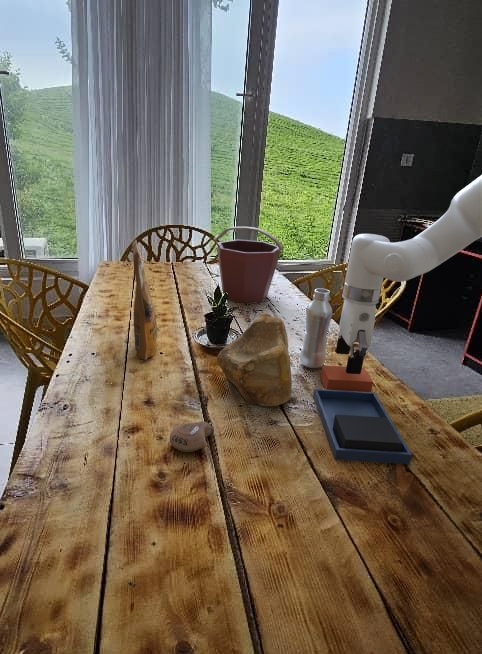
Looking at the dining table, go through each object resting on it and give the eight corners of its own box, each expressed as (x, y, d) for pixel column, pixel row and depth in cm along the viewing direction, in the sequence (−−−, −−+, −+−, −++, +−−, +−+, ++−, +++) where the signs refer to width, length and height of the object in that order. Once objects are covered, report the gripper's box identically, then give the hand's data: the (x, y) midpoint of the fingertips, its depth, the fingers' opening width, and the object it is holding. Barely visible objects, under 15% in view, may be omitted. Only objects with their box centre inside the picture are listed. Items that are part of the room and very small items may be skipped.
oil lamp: (219, 459, 80) (210, 432, 87) (223, 440, 78) (214, 415, 85) (170, 457, 78) (165, 430, 85) (173, 438, 76) (168, 412, 83)
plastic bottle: (299, 369, 111) (309, 293, 104) (298, 358, 117) (307, 285, 110) (325, 372, 110) (337, 296, 103) (323, 360, 116) (334, 287, 109)
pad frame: (372, 402, 98) (374, 392, 97) (409, 466, 78) (412, 454, 78) (312, 398, 99) (314, 388, 98) (334, 461, 79) (336, 449, 78)
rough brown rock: (219, 362, 115) (217, 308, 109) (284, 362, 113) (286, 307, 107) (214, 415, 94) (211, 352, 88) (293, 416, 92) (296, 351, 86)
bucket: (200, 295, 163) (203, 226, 154) (231, 282, 180) (236, 219, 171) (259, 310, 150) (266, 236, 141) (287, 295, 167) (295, 228, 158)
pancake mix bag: (127, 363, 111) (124, 252, 100) (135, 333, 128) (133, 236, 118) (154, 363, 111) (154, 253, 101) (158, 333, 129) (158, 237, 118)
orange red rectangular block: (361, 380, 107) (364, 367, 106) (370, 395, 101) (373, 381, 99) (320, 377, 108) (322, 365, 106) (326, 392, 101) (328, 379, 100)
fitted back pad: (383, 432, 87) (387, 417, 85) (398, 459, 79) (402, 443, 78) (332, 429, 87) (335, 414, 86) (342, 455, 80) (345, 439, 78)
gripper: (392, 307, 88) (375, 383, 94) (367, 281, 103) (353, 348, 110) (354, 305, 88) (339, 380, 94) (334, 279, 104) (323, 345, 110)
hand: (347, 363), depth 102 cm, fingers open, 9 cm apart
